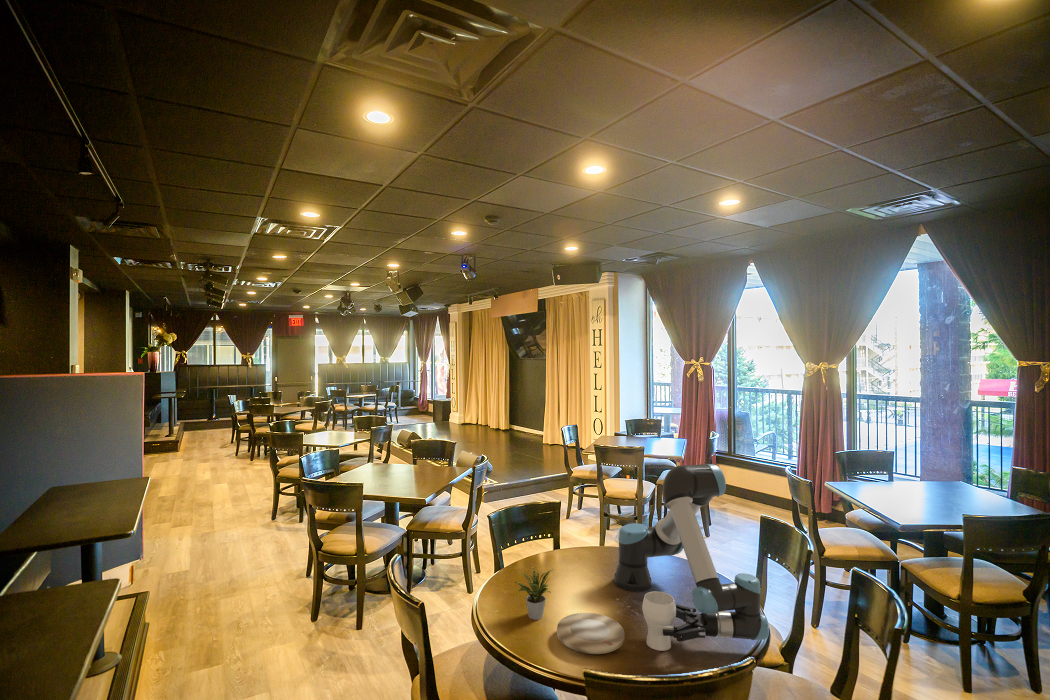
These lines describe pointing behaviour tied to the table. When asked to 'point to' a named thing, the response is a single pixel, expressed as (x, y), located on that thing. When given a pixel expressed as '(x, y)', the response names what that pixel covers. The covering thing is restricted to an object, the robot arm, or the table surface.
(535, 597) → the house plant
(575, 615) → the turntable platter
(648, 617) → the cup
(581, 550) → the table surface
